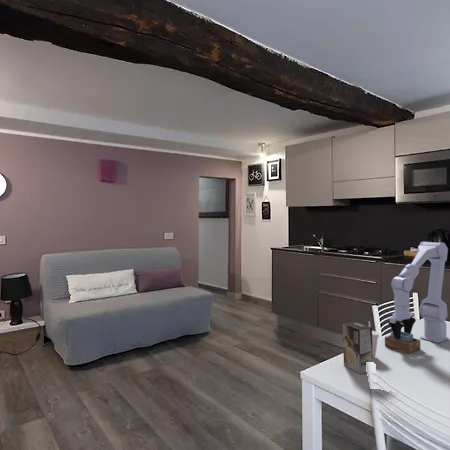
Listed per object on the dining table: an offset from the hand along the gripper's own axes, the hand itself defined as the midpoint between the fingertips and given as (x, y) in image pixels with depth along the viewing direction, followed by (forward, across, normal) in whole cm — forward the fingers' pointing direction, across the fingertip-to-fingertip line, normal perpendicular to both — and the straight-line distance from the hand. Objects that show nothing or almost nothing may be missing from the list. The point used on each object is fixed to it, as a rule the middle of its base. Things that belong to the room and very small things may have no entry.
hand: (402, 336), depth 149 cm
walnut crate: (+5, 0, 0) cm, 5 cm away
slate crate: (+4, 0, 0) cm, 4 cm away
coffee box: (+5, +32, +2) cm, 33 cm away
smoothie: (+5, +19, -2) cm, 20 cm away
